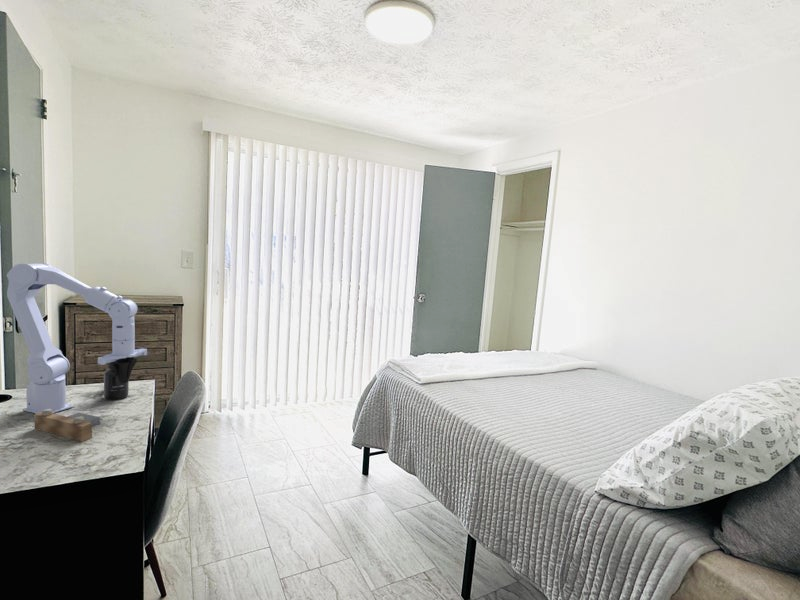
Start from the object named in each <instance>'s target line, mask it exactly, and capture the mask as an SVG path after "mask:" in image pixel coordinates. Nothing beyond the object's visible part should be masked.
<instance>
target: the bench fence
mask: <svg viewBox="0 0 800 600" xmlns="http://www.w3.org/2000/svg"><path fill="white" fill-rule="evenodd" d="M33 415H34V429H35V430H39V431H42V432H46V433H49V434H52V435H57V436H61V437H65V438H68V439H72V440H75V441H79V442H84V441H87V440H91V439H92V438H93V427H92V423H90V422H86V421H84V417H76V418H70V417H67V416H66V415H62V414H61V415H60V414H58V413H52V409H46V410H43V411H42V412H41V413H37V414H36V413H33Z"/></svg>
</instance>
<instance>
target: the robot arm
mask: <svg viewBox="0 0 800 600" xmlns="http://www.w3.org/2000/svg"><path fill="white" fill-rule="evenodd" d="M6 278H7V281H8V285H7V290H6V297H7V299H8V302H9V304H10V307H11V309H12V312H13V314H14V316H15V319H16V321H17V324H18V326H19V329H20V331H21V333H22V336H23V338H24V341H25V343H26V345H27V349H28V351H29V353H30V354H29V356H28V358H27V360H26V364H27V376H28V377H27V378H28V379H29V381H30V382H29V383H28V384H27V386H26V407H25V408H23V411H25V412H28V413H32V414H37V413H41V412H42V411H43V410H46V409H52V413H54V414H56V413H58V412H61V411H64V410H68V409H69V410H70V409H72V408H74V405H72V404H69V403H67V399H66V398H67V396H66V395H67V394H66V392H67V391H66V389H67V388H66V374H67V373H68V372H69V371H70V368H71V363H70V361H69V359H68V358H67V357H65V356H64V354H63V351H62V350H61V349H59V348H57V347H56V346H55V345H54V344H53V340H52V338H51V336H50V333H49V331H48V328H47V326H46V323H45V321H44V319H43V316H42V314H41V311H40V308H39V306H38V304H37V301H36V299H35V296H36V295H37V294H38V293H39V292H40V290H41V289H42V288H43V287H45V286H47V285H56V286H58V287H61V288H62V289H65V290H68V291H69V292H72V293H74V294H76V295H78V296H81V297H83V298H84V301H85V303H86V304H88V305H90V306H92V307H95V308H96V309H98V310H101V311H102V312H104V313H106V314H108V316H109V317H110V318H111V320H112V321H111V322H112V325H111V330H112V331H111V336H112V337H111V338H112V340H111V341H112V342H111V343H112V344H111V347H112V348H111V349H112V352H111V353H109V354H106V355H102V356H99V357H97V365H100V366H101V365H102V366H103V365H106V364H108V363H111V365H112V366H113V367H114V369H115V371H116V373H117V376H118V379H119V382H121V383H126V382H128V380H130V377H131V374H132V372H133V369H134V367H135V365H136V364H137V362H138V361H137V360H138V359H137V358H136V357H141V356H147V355H148V349H147V348H143V347H141V348H137V349H135V346H136V345H135V344H136V343H135V342H136V341H135V340H136V336H135V335H136V334H135V333H136V331H135V329H136V327H135V325H136V324H135V323H136V322H135V321H136V320H135V315H137V313H138V310H139V309H138V308H139V307H138V305H137V303H136V302H135V301H134V300H132V299H130V298H124V299H123V296H121V295H120V294H119V295H117V294H115V293H112V292H111V291H108V288H107V287H105V286H94V287H91V286H89V285H88V284H86V283H84V282H82V281H80V280H78V279H77V278H74V277H73V276H71V275H69V274H68V273H65V272H64V271H62V270H61V269H59V268H57V267H55V266H52V265H50V264H48V263H45V262H40V263H39V262H38V263H23V262H22V263H17V264H15V265H14V266H13V267H12V268H11V269H10V270H9V271H8V272H7V274H6Z"/></svg>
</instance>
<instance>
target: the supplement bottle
mask: <svg viewBox="0 0 800 600" xmlns="http://www.w3.org/2000/svg"><path fill="white" fill-rule="evenodd" d="M129 380H130V379H129ZM129 380H128V382H126V383H121V382H119V379H118V376H117V373H116V371H115V369H114V367H113V366H112V365H111V363H107V370H105V371H104V373H103V398H104V400H107V401H119V400H122V399H125V398H127V397H128V396H129V389H130V387H129V386H130V385H129V384H130V383H129V382H130V381H129Z"/></svg>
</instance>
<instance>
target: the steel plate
mask: <svg viewBox="0 0 800 600" xmlns="http://www.w3.org/2000/svg"><path fill="white" fill-rule="evenodd" d="M66 417H70V418H76V417H84V421H86V422H90V423H92V428H94V427H96V426H100V425H101V417H100V416H96V415H93V414H86V413H83V412H76V413H74V414H71V415H68V416H66Z"/></svg>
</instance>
